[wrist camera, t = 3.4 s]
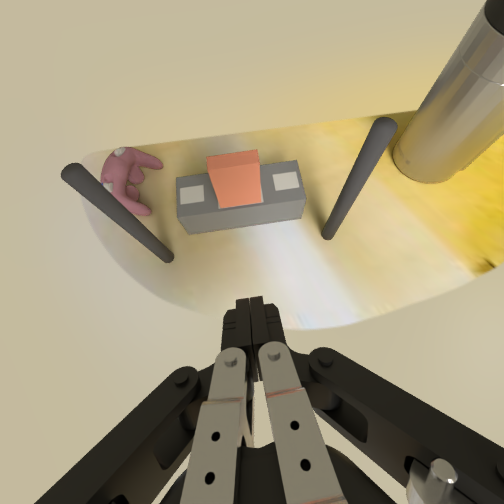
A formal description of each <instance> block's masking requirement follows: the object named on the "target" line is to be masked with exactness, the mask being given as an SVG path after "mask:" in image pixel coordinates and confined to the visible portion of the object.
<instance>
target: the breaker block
mask: <svg viewBox="0 0 504 504" xmlns="http://www.w3.org/2000/svg"><path fill="white" fill-rule="evenodd" d="M260 183H261V202H260V203H253V204H246V205H239V206H232V207H225V208H220V205H219V202H218V199H217V196H216V193H215V191H214V188H213V185H212V182H211V179H210V176H209V173H205V174H198V175H191V176H184V177H178V178H176V194H177V218H178V220H179V221H180V223H181V224H182V225H183V227H184V228H185V230H186V231H187V232H188V234H189V235H191V234H198V233H205V232H211V231H218V230H225V229H232V228H239V227H246V226H253V225H260V224H267V223H274V222H281V221H288V220H295V219H301V218H302V214H303V210H304V206H305V202H306V195H305V191H304V187H303V183H302V179H301V175H300V171H299V166H298V162H297V160H293V161H286V162H280V163H273V164H266V165H260Z"/></svg>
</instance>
